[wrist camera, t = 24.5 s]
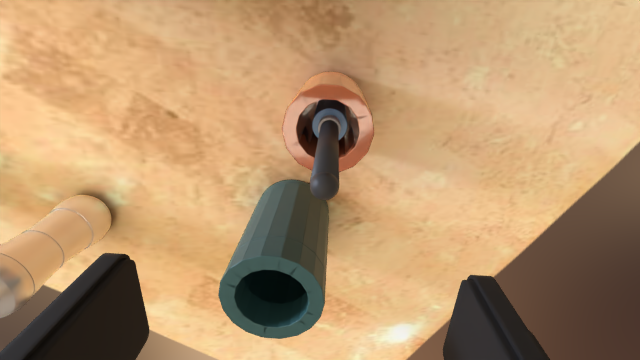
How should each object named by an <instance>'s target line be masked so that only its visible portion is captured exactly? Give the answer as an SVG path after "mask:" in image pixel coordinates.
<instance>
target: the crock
mask: <svg viewBox="0 0 640 360" xmlns="http://www.w3.org/2000/svg"><path fill="white" fill-rule="evenodd" d="M322 99H323V100H337V101H339V102H341V103H342V104H344V105H345V108H346V117H347V130H346V133H345V135H344V136H343V137H342V138H341V139H340V140H339V172H341V171H343V170H346V169H349V168H351V167H353V166H355V165H356V164H357V163H358V162H359V161H360V160H361V159H362V158H363V157H364V156H365V155H366V154H367V152H368V150H369V147H370V144H371V142H372V139H373V136H374V128H373V120H372V114H371V111H370V109H369V107H368V104H367V102H366V100H365V98H364V95H363V93H362V92H361V90H360V88H359V87H358V85H357V84H356V82H355V81H354V80H353V79H351V78H350V77H348V76H346V75H344V74H342V73H340V72H322V73H319V74H317V75H315V76H313V77H311V78H309V79H308V81H307V82H306V83H305V84H304V85H303V87H302V88H301V89H300V90H299V92H298V93H297V95H296V96H295V97H294V99H293V100H292V102H291V103H290V104H289V106H288V107H287V109H286V113H285V117H284V121H283V125H282V132H283V136H284V141H285V145H286V148H287V150H288V151H289V152H290V153H291V155H292V156H293V157H294V159H295V160H296V161H297V162H298V163H299V164H300V165H302V166H304V167H306V168H308V169H310V170H312V169H313V164H314V159H315V153H316V148H317V143H318V138H317V137H316V135H315V134H314V132H313V129H312V122H313V118H314V115H315V111H316V108H317V104H318V102H319V101H320V100H322Z"/></svg>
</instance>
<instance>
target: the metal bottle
mask: <svg viewBox="0 0 640 360" xmlns="http://www.w3.org/2000/svg"><path fill="white" fill-rule="evenodd" d="M110 226H111V213H110V211H109V209H108V207H107V206H106V205H105V204H104V203H103V202H102V201H101V200H99V199H98V198H96V197H93V196H88V195H76V196H73V197H70V198H68V199H65V200H63V201H62V202H61V203H59V204H58V205H57V206H56V207H55V208H54V209H53V210H52V211H51V212H50V213H49V214H48V215H47V216H45V217H44V218H43V219H41V220H40V221H39V222H37V223H36V224H35V225H33V226H32V227H31V228H30V229H28V230H26V231H24V232H23V233H21V234H19V235H17V236H16V237H14V238H12V239H10V240H9V241H7V242H5V243H3V244H0V318H3V317H6V316H8V315H10V314H12V313H14V312H16V311H18V310H19V309H21V308H22V307H23V306H24V305H25V304H26V303H27V302H28V301H29V300H30V298H31V297H32V296H33V295H34V294H35V293H36V292H37V291H38V290H39V288H40V287H41V286H42V285H43V284H44V283H45V282H46V281H47V279H48V278H50V277H51V276H52V275H53V274H54V273H55V272H56V271H57V270H58V269H59V268H60V267H61V266H62V265H63V264H64V263H66V262H67V261H68V260H70V259H71V258H73V257H74V256H75V255H77V254H78V253H80V252H81V251H82V250H84V249H86V248H88V247H90V246H92V245H93V244H95V243H96V242H98V241H99V240H101V239H102V238H103V237H104V235H105V234H106V233H107V231H108V230H109V229H110Z"/></svg>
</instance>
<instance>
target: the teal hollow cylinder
mask: <svg viewBox="0 0 640 360" xmlns="http://www.w3.org/2000/svg"><path fill="white" fill-rule="evenodd" d="M328 223H329V216H328V205H327V202H326V200H320V199H318V198H316V197H315V196H314V195H313V194H312V192H311V190H310V184H309V183H306V182H304V181H300V180H284V181H280V182H277V183H275V184H273V185H272V186H270V187H269V188H268V189H267V190H266V191H265V192H264V193H263V195H262V197H261V199H260V200H259V202H258V204H257V206H256V208H255V210H254V212H253V214H252V216H251V219H250V221H249V223H248V225H247V227H246V229H245V231H244V233H243V235H242V237H241V239H240V242H239V244H238V246H237V248H236V250H235V252H234V254H233V256H232V258H231V260H230V263H229V265H228V267H227V269H226V271H225V273H224V275H223V277H222V279H221V282H220V288H219V299H220V302H221V305H222V308H223V310H224V312H225V313H226V314H227V316H228V317H229V318H230V319H231V321H232V322H233V323H234V324H236V325H237V326H239V327H240V328H242V329H243V330H245V331H246V332H248V333H251V334H254V335H257V336H260V337H264V338H277V339H280V338H281V339H282V338H287V337H292V336H297V335H299V334H301V333H303V332H305V331H307V330H309V329H310V328H311V327H312V326H313V325H314V324H315V323H316V322H317V321H318V319H319V318H320V316H321V314H322V311H323V307H324V304H325V284H326V265H327V244H328Z"/></svg>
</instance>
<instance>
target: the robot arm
mask: <svg viewBox="0 0 640 360" xmlns="http://www.w3.org/2000/svg"><path fill="white" fill-rule="evenodd" d="M148 335H149V325H148V320H147V316H146V311H145V306H144V302H143V297H142V293H141V288H140V283H139V279H138V274H137V270H136V265H135V262H134V261H133V260H130V258H129V256H128V255H126V254H114V253H105V254H102V255H101V256H100V257H99V258H98V259H97V260H96V261H95V262H94V263H93V264H92V265H90V266H89V267H88V268H87V269H86V270H85V271H84V272H83V273H82V274H81V275H80V276H79V277H78V278H77V279H76V280H75V281H74V282H73V283H72V284H71V285H70V286H69V287H68V288H67V289H66V290H64V291H63V292H62V293H61V294H60V295H59V296H58V297H57V298H56V299H55V300H54V301H53V302H52V303H51V304H50V305H49V306H48V307H47V308H46V309H45V310H44V311H43V312H42V313H41V314H40V315H39V316H38V317H36V318H35V319H34V320H33V321H32V322H31V323H30V324H29V325H28V326H27V327H26V328H25V329H24V330H23V331H22V332H21V333H20V334H19V335H18V336H17V337H16V338H15V339H14V340H13V341H12V342H11V343H9V344H8V345H7V346H6V347H5V348H4V349H3V350H2V351H1V352H0V360H135V359H136V358H137V356H138V354H139V353H140V351H141V349H142V348H143V346H144V344H145V343H146V341H147V338H148ZM443 356H444V360H550V359H549V357H548V356H547V354H546V353H545V352H544V350H543V348H542V347H541V345H540V344H539V342H538V341H537V339H536V338H535V336H534V335H533V334H532V333H531V332H530V331H529V330H528V329H527V327H526V326H525V324H524V323H523V321H522V320H521V318H520V317H519V315H518V314H517V312H516V311H515V309H514V308H513V306H512V305H511V303H510V302H509V300H508V299H507V297H506V295H505V294H504V292H503V291H502V290H501V288H500V286H499V285H498V283H497V282H496V280H495V279H494V278H493V277H491V276H478V275H470V276H469V277H468V279H467V280H463V281H462V282H461V285H460V289H459V292H458V296H457V299H456V303H455V307H454V310H453V314H452V317H451V321H450V325H449V328H448V332H447V336H446V339H445V343H444V347H443Z"/></svg>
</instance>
